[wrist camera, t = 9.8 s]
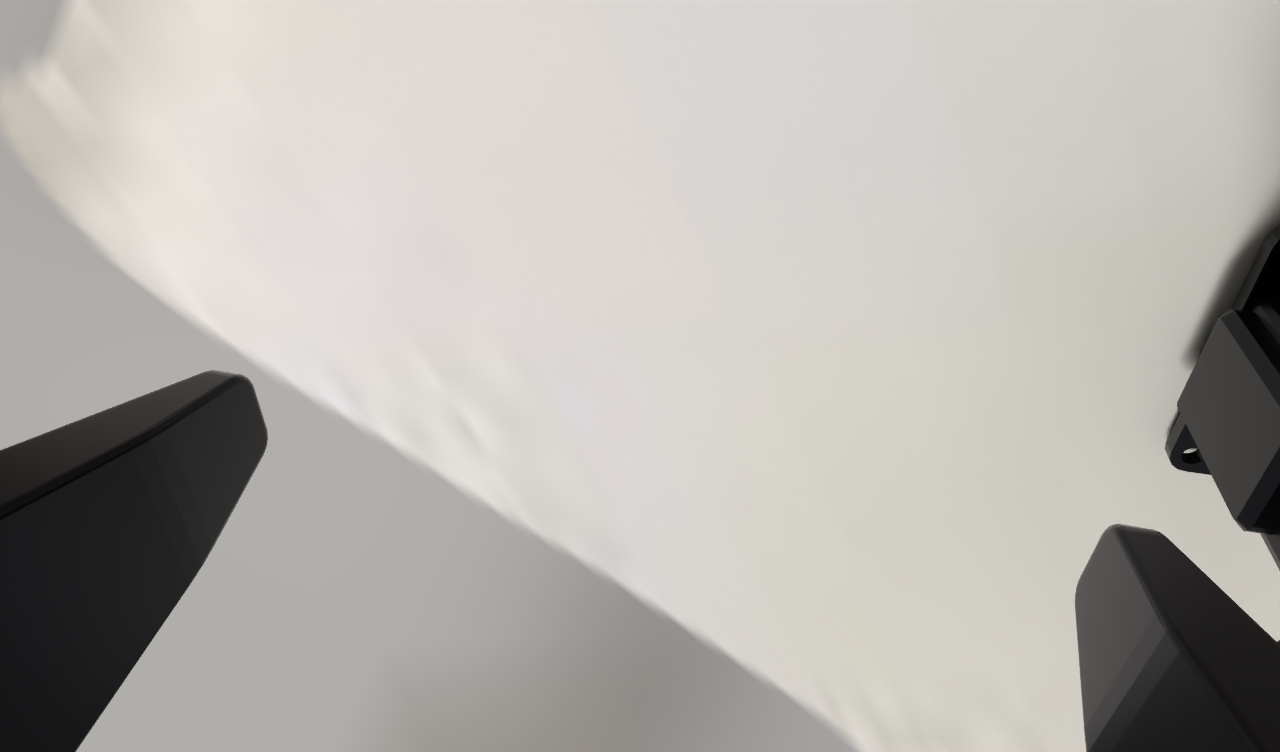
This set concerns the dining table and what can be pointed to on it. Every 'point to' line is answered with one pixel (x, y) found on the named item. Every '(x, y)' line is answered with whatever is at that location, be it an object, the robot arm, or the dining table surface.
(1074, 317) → the dining table surface
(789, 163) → the dining table surface
